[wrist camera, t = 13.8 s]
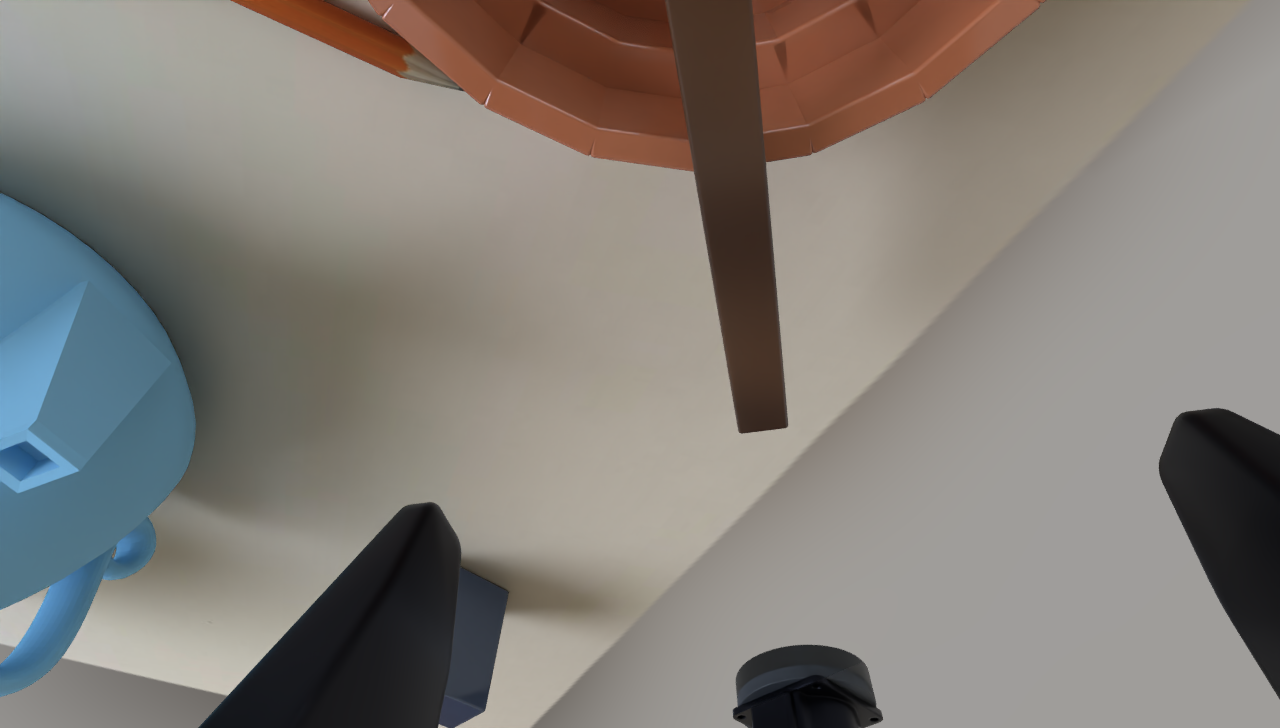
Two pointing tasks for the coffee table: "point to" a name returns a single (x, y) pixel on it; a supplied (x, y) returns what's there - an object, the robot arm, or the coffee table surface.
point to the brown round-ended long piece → (733, 196)
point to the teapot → (77, 431)
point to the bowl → (647, 76)
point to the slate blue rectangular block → (473, 648)
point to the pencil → (353, 37)
